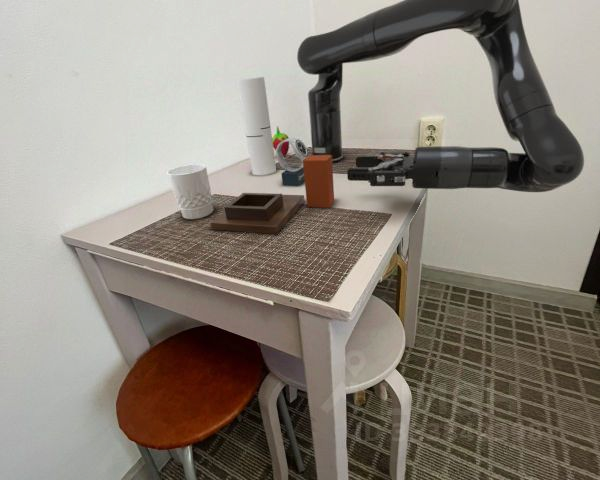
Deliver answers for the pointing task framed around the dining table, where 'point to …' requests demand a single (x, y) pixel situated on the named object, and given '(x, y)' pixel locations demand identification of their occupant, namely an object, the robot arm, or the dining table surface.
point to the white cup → (191, 190)
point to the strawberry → (278, 139)
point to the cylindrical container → (257, 125)
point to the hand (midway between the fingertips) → (352, 167)
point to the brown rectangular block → (319, 180)
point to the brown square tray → (258, 213)
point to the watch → (292, 174)
